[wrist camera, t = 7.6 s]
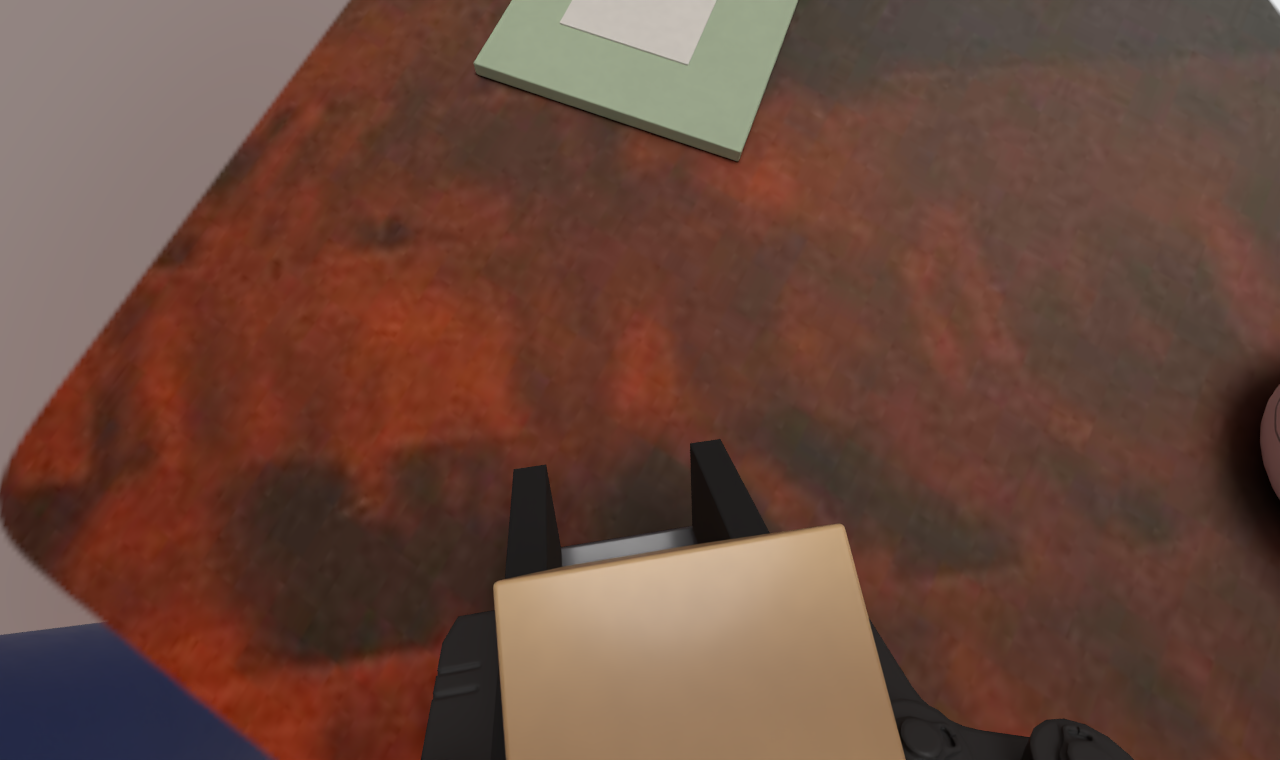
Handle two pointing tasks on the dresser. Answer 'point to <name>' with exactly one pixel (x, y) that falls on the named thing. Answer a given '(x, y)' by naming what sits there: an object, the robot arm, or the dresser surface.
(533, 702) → the eraser
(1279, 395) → the mug
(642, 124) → the chalk board
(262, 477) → the dresser surface
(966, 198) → the dresser surface
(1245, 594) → the dresser surface
